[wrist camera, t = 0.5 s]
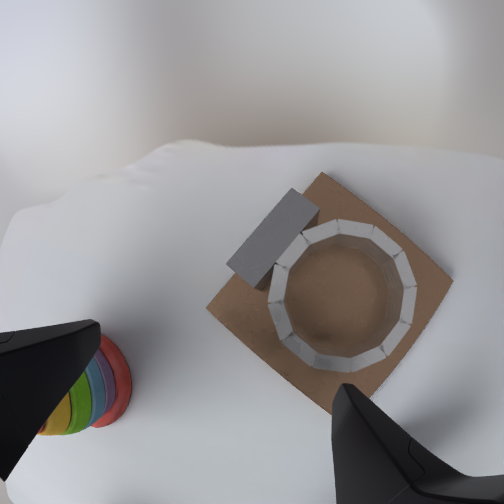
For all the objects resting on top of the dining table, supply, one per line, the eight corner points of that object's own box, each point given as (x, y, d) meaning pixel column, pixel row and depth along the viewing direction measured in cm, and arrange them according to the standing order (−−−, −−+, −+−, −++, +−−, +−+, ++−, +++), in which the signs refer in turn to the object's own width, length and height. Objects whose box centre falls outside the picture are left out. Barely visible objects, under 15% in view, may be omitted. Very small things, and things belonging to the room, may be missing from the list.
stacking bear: (56, 346, 25) (-70, 346, 8) (105, 309, 25) (-54, 291, 8) (95, 429, 22) (-26, 472, 5) (154, 406, 22) (3, 477, 5)
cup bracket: (448, 281, 20) (474, 275, 15) (342, 419, 19) (349, 442, 15) (321, 176, 24) (324, 150, 19) (209, 308, 23) (188, 307, 19)
